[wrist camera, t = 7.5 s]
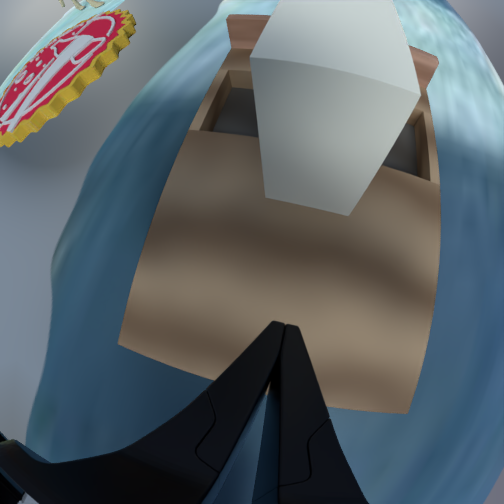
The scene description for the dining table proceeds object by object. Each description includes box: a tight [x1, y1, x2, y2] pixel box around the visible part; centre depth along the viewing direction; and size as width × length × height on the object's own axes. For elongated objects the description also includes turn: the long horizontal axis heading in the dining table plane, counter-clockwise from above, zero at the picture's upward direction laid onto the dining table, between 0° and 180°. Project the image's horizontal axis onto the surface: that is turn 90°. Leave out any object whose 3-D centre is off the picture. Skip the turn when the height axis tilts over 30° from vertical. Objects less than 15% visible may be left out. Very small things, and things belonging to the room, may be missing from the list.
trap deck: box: [118, 14, 441, 414], centre depth 16 cm, size 26×18×6 cm
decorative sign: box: [0, 9, 136, 148], centre depth 27 cm, size 30×3×30 cm
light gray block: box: [250, 0, 421, 216], centre depth 12 cm, size 14×5×10 cm, turn 166°
